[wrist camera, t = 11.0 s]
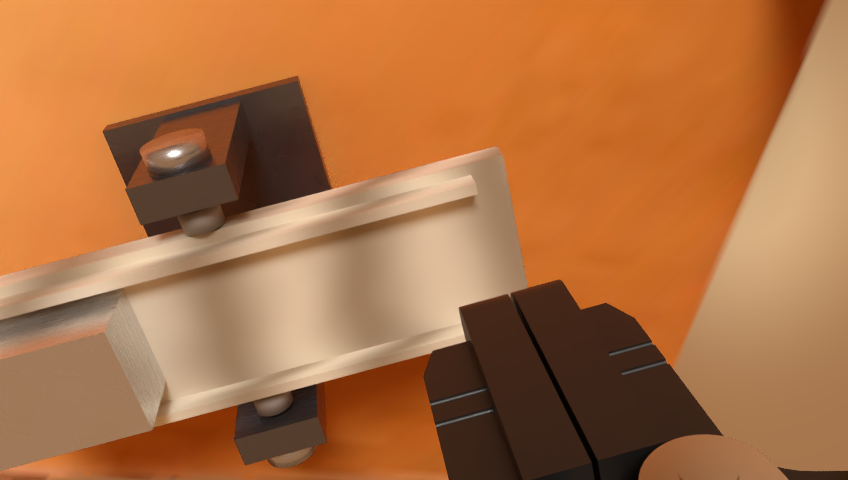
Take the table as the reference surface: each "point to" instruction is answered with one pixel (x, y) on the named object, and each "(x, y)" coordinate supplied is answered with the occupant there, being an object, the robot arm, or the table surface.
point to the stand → (231, 207)
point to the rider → (75, 379)
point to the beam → (302, 283)
